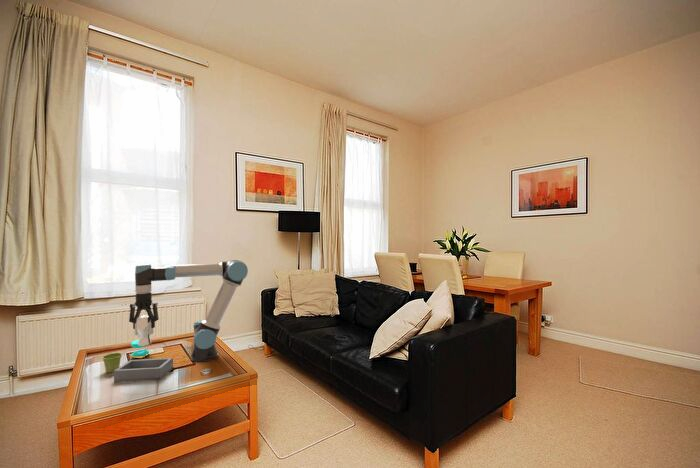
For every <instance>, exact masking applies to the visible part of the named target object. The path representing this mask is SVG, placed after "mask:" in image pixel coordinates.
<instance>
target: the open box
mask: <svg viewBox="0 0 700 468" xmlns="http://www.w3.org/2000/svg"><path fill="white" fill-rule="evenodd" d="M172 368H173V369H174V358H173V357H168V358H167V357H166V358H148V359H147V358H144V359H143V358H141V359H130V360H128V361H127V362H125V363H124V364H122V365H120V366H119V368H117V369H116V370H114V372H113V383H125V382H126V383H127V382H141V381H143V382H144V381H159V380H162V379H163V378H164V377H165V376H166V375H168V374H169V372H171V371H172V370H173V369H172Z"/></svg>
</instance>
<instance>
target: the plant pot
mask: <svg viewBox="0 0 700 468" xmlns="http://www.w3.org/2000/svg"><path fill="white" fill-rule="evenodd" d="M122 356H123V353H122V352H113V353H108V354H106V355H103V356H102V357H101V358H102V361H103V362H104V368H105V370H104V371H105V373H106V374H107V373H108V374H109V373H114V370H116V369H117V368H119V367H120V366H121V365H120V364H121V358H122Z"/></svg>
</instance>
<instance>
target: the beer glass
mask: <svg viewBox="0 0 700 468" xmlns="http://www.w3.org/2000/svg"><path fill="white" fill-rule="evenodd" d="M150 322H151V321H150V319H149V316H148V315H141V316H140V315H139V317H137V318H136V329H137V333H138V335H137V336H138V340H139V343H138V345H139V346H145V345H147V346H148V345H150V344H152V340H151V335H149V323H150ZM145 347H146V346H145Z"/></svg>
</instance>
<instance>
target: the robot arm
mask: <svg viewBox="0 0 700 468" xmlns="http://www.w3.org/2000/svg"><path fill="white" fill-rule="evenodd" d="M248 272H249V268H248V266H247V264H246V263H245V262H243V261H242V260H237V259H233V260H228V261H221V262H220V263H219V262H217V263H200V264H199V263H195V264H175V265H173V264H172V265H169V264H164V265H162V266H160V267H152V264H148V263H147V264H138V265H136V266H135V271H134V276H135V277H134V280H135V286H134V287H135V290H134V293H135V303H134V302H133V303H129V308H130V310H129V318H128V322H129V323H132V328H133V330H134V336H138V333H137V329H136V318H137V317H140V315H141V313H142V311H143V310H144V311H145V312H146V313H147V316H149V319H150V321H151V322H150V323H149V335H150V336H152V335H153V334H154V328H156V325H155V324H156V322H157V321H159V312H158V303H159V302H153V300H152V297H153V296H152V295H153V293H152V290H153V289H152V282H157V281H158V282H159V281H173V280H174V281H175V280H176V278H188V277H189V278H190V277H191V278H194V277H210V276H211V277H213V276H214V277H215V276H221V278H222V284H221V286H220V288H219V290H218V292H217V294H216V295H215V298H214V300H213V302H212V304H211V307H210V309H209V311H208V312H207V315H206V316H205V319H203V320H198V321H195V322H194V323H193V349H192V352H191V355H190V360H191V361H192V362H195V363H197V362H198V363H199V362H202V363H203V362H207V361H212V360H214V359H216V358H217V357H218V350H217V347H216V345H215V344H216V342H217V336H218V334H219V332H220V329H221V327H220V323H221V321H222V320H223V317H224V315H225V313H226V311H227V308H228V307H229V305H230V302H231V301H232V298H233V296H234V294H235V293H236V290H237V289H238V287H240V286H242V284H243V281H244V279H245V278H246V277H247V276H248ZM151 306H152V307H151Z"/></svg>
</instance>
